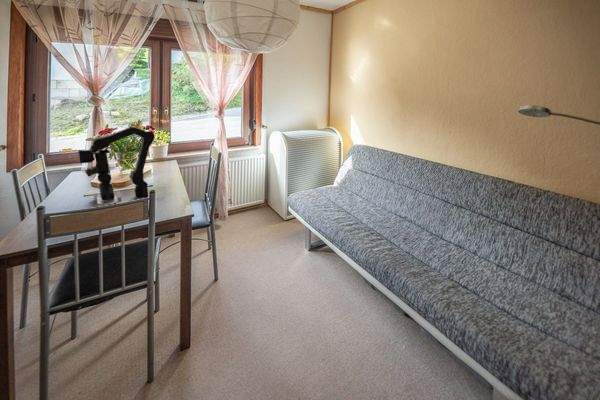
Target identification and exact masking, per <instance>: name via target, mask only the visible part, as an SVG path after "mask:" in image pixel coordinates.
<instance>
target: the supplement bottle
mask: <svg viewBox="0 0 600 400" xmlns="http://www.w3.org/2000/svg"><path fill="white" fill-rule="evenodd" d="M99 182H100V183H99V184H98V188H99V195H100V197H101V199H102V200H105V201H107V200H112V199H114V198H115V196H114V195H115V191H114V184H113V183H112V182H111V181H110V185H109V188H108V191H106V190H105V188H104V186H103V183H102V182H101V181H99Z"/></svg>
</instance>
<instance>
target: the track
mask: <svg viewBox="0 0 600 400" xmlns="http://www.w3.org/2000/svg"><path fill="white" fill-rule="evenodd" d="M114 196H115V198H114V199H112V200H107V201H105V200H102V199H101V196H99V195H98V193H93V202H94V207H101V206H102V205H103V206H109V205H108V204H111V205H115V204H114V203H119V202H122V203H123V201H122V196H121V192H120V190H116V195H115V194H114ZM119 204H120V203H119ZM103 206H102V207H103Z"/></svg>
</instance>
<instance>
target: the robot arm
mask: <svg viewBox="0 0 600 400" xmlns="http://www.w3.org/2000/svg"><path fill="white" fill-rule="evenodd" d="M131 135H136V136H137V137H138V136H139V137H140V143H141V144H140V150H139V152H138V153H139V154H138V156H137V157H138V158H137V161H136V164H135V168H134V169H133V170H132V169H131V170H130V174H129V179H130V182H131V183H133V185H134V195H135V197H136V199H140V198H149V197H148V195H149V189H148V185H149V184H148V183H147V182H146V181H145V180H144V169H145V166H146V161H147V157H148V154H149V149H150V147H151V145H153V142H154V140H155V137H156V136H155V133H154V132H152V131H151V130H148V129H146V130H142V129H141V128H137V127H135V126H133V125H130V126H128V127H127V128H124V129H122V130H119V131H117V132H114V133H112V134H111V133H110V134H109V135H104V136H98V137H95V138H94V139H93V140H92V142H91V143H92V145H91V146H90V148H89V149H85V150H82V149H80V150H79V149H78V151H77V152H78V160H79V164H87V163H89V164H90V163H91V164H92V163H93V162H94V161H95V166H92V167H89V168H86V169H85V171H84V172H85V174H86V175H87V177H92V176H94V175H95V174H97V180H98V181H99V182H100V181H101V182H102V183H103V186H104V188H105V190H106V191H108V188H109V185H110V182H111V180H112V175H111V169H110V166H109V161H108V154H111V150H109V149H108V148H107V147H109V146H110V145H111V144H113V143H115V142H117V141H120V140H123V139H124V138H127V137H129V136H131ZM101 182H100V183H101Z"/></svg>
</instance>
